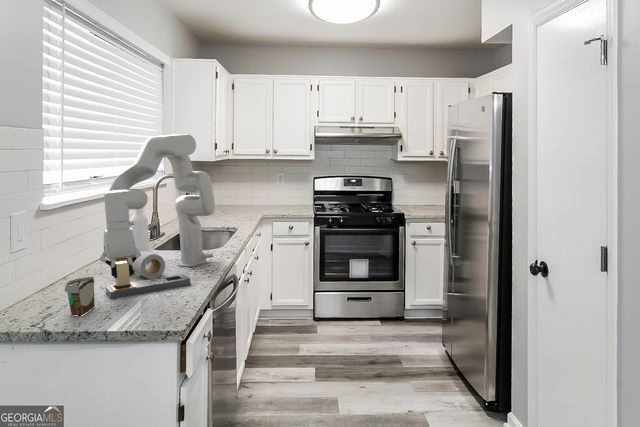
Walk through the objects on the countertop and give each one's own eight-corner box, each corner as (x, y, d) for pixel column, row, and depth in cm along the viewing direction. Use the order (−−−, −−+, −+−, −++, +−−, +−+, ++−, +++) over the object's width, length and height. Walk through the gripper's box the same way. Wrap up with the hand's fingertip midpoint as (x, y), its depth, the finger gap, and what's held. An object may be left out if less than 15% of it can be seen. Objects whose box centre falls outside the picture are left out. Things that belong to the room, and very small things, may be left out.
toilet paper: (166, 276, 189) (164, 252, 188) (141, 281, 183) (139, 256, 182) (156, 272, 197) (154, 249, 196) (132, 276, 190) (130, 253, 189)
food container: (77, 306, 152) (74, 277, 151) (96, 305, 152) (94, 276, 151) (59, 319, 140) (56, 287, 138) (80, 318, 140) (77, 286, 139)
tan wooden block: (127, 282, 168) (125, 260, 167) (130, 284, 164) (128, 262, 164) (115, 284, 166) (114, 262, 165) (118, 286, 162) (116, 264, 161)
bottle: (150, 258, 225) (145, 197, 221) (151, 261, 218) (146, 198, 214) (132, 260, 222) (127, 198, 218) (133, 263, 215) (128, 199, 211)
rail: (182, 280, 182) (182, 273, 182) (190, 284, 175) (190, 277, 174) (106, 293, 166) (105, 285, 166) (111, 299, 159) (110, 291, 159)
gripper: (140, 222, 170) (143, 271, 173) (90, 227, 161) (94, 278, 163) (145, 224, 164) (149, 274, 166) (94, 229, 155) (98, 282, 157)
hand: (122, 276), depth 165 cm, fingers closed on tan wooden block, 4 cm apart
